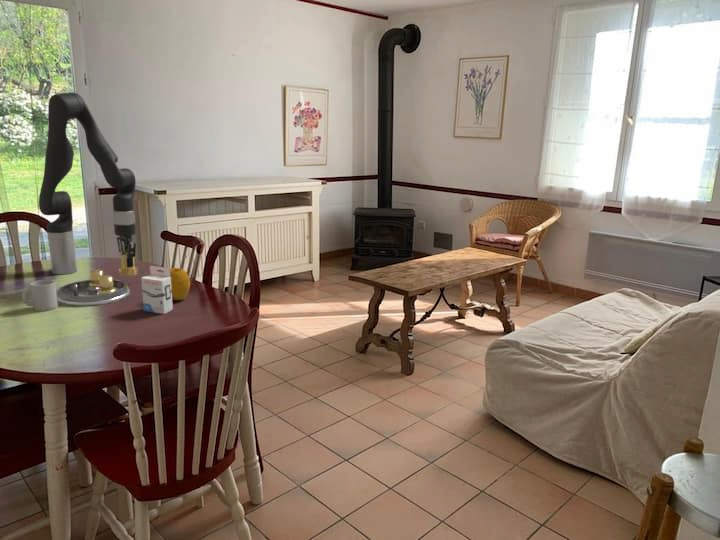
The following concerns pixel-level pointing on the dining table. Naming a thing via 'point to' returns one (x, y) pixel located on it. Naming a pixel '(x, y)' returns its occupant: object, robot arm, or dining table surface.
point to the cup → (41, 295)
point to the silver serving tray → (93, 291)
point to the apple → (179, 283)
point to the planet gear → (124, 269)
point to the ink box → (157, 291)
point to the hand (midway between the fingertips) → (127, 265)
